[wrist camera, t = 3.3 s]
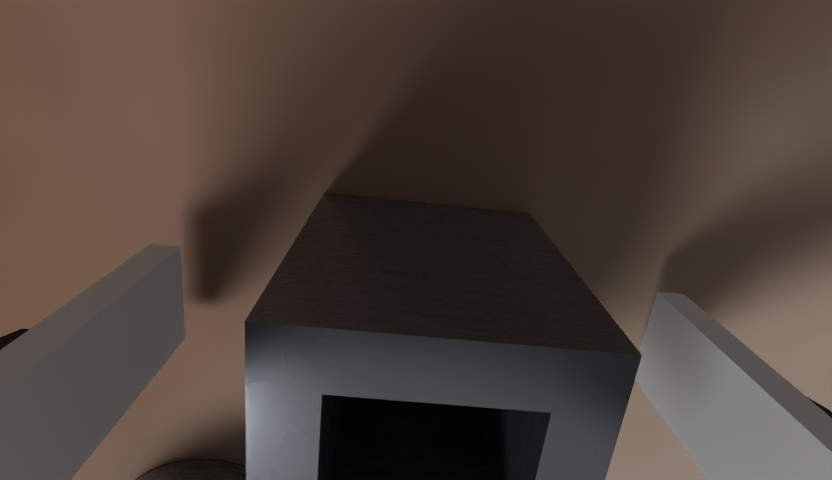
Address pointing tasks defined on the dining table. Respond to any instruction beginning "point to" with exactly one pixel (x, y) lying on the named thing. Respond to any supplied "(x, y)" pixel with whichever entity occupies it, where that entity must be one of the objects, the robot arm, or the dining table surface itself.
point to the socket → (430, 352)
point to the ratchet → (197, 471)
